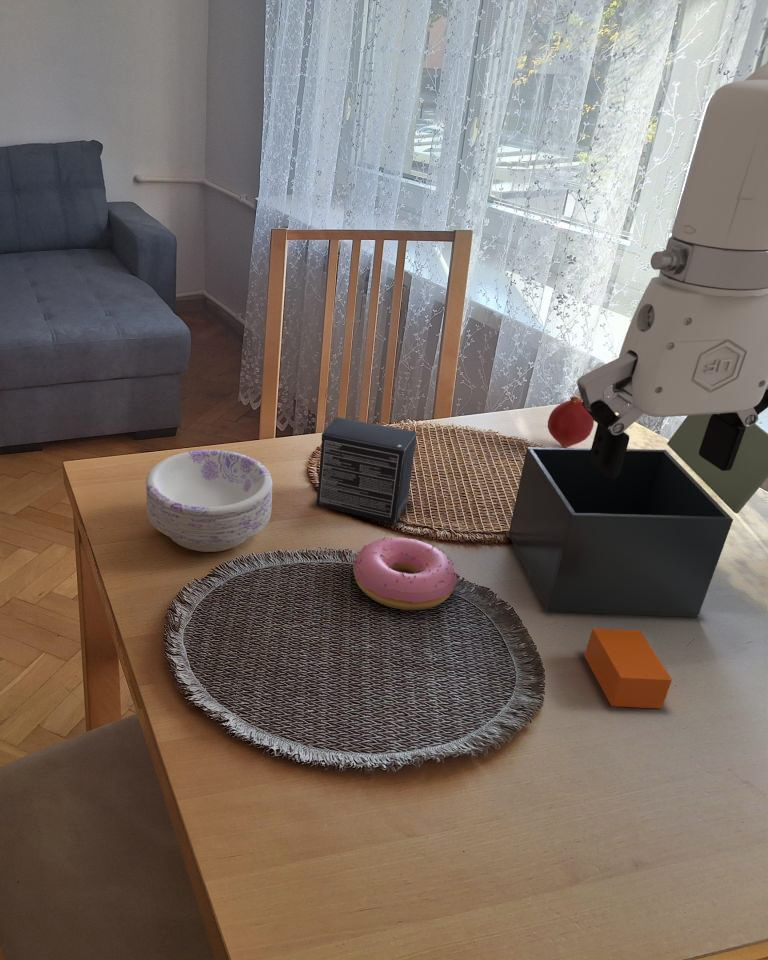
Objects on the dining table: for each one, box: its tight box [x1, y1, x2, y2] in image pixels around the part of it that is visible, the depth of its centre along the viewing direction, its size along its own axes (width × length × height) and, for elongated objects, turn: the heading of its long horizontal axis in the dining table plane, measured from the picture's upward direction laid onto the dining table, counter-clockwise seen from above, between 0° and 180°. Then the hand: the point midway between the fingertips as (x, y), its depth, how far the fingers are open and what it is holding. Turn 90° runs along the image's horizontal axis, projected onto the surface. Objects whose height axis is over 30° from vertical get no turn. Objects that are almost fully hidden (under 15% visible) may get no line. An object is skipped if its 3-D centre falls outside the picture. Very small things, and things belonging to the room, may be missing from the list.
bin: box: [507, 446, 734, 618], centre depth 94 cm, size 15×15×12 cm
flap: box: [666, 414, 768, 515], centre depth 88 cm, size 7×15×1 cm
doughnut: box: [352, 536, 458, 611], centre depth 95 cm, size 11×11×4 cm
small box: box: [315, 416, 418, 525], centre depth 109 cm, size 11×6×10 cm, turn 59°
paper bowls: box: [145, 449, 273, 553], centre depth 105 cm, size 15×15×8 cm
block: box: [584, 628, 673, 709], centre depth 81 cm, size 4×7×4 cm, turn 174°
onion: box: [547, 395, 595, 448], centre depth 122 cm, size 6×6×8 cm
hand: (658, 466), depth 72 cm, fingers open, 9 cm apart
